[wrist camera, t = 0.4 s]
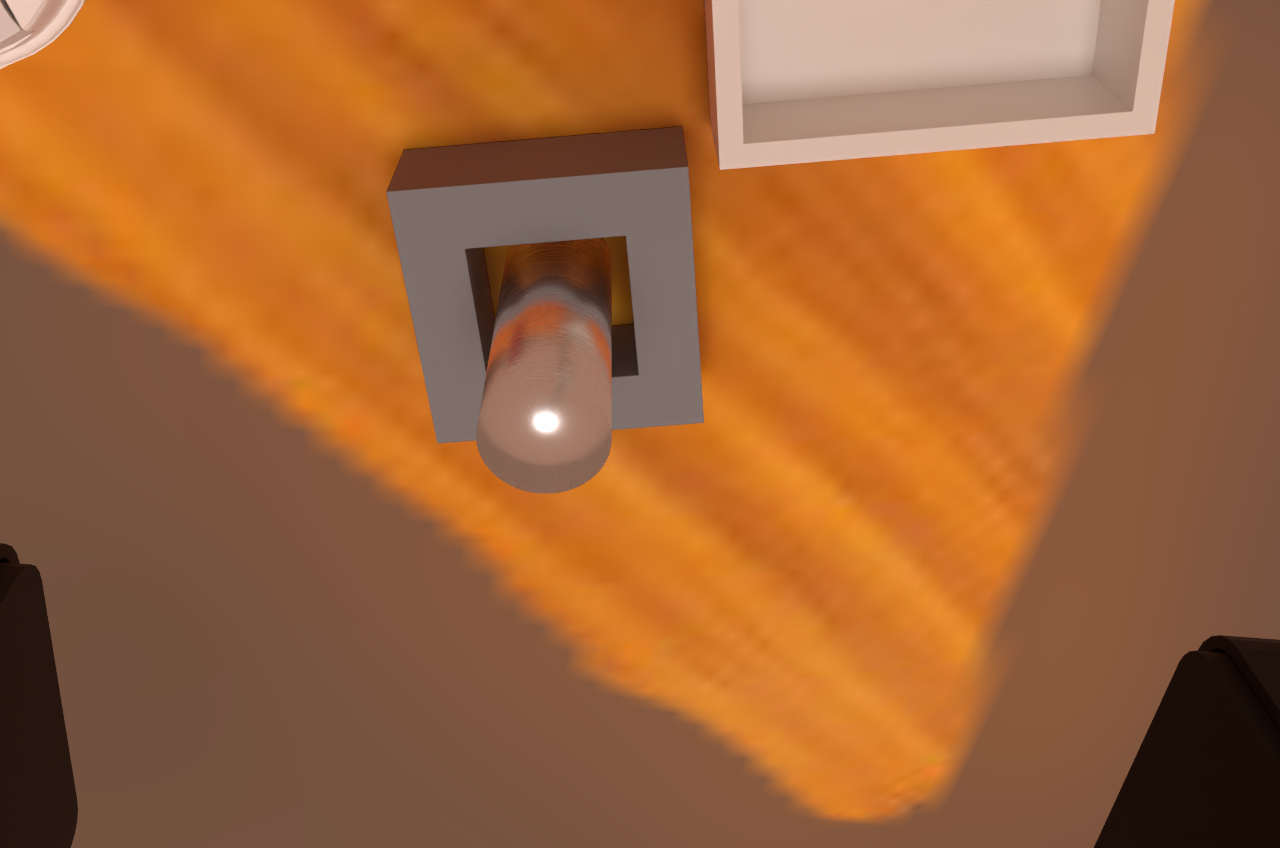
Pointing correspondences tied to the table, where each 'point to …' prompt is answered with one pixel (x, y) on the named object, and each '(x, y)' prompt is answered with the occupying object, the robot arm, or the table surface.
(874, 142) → the tray
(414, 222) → the block
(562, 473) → the pin
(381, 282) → the table surface
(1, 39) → the paper cup
